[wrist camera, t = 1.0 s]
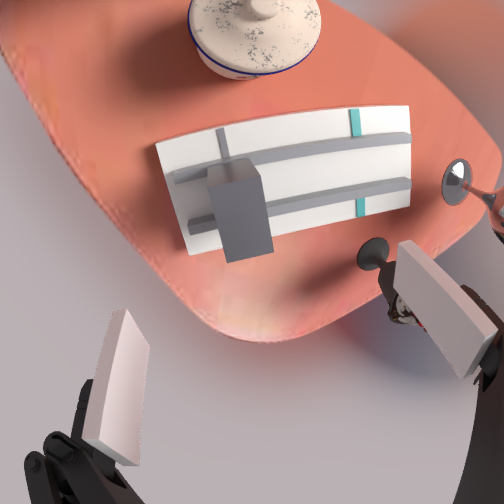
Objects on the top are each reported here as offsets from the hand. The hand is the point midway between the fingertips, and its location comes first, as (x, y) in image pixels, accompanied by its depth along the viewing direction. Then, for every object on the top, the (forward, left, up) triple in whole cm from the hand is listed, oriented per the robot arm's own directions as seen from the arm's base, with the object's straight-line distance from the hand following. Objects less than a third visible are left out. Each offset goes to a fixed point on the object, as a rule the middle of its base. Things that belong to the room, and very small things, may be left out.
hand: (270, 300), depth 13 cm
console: (0, +7, -18) cm, 20 cm away
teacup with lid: (-15, +5, -19) cm, 24 cm away
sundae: (+13, +16, -19) cm, 28 cm away
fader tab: (0, 0, -16) cm, 16 cm away
